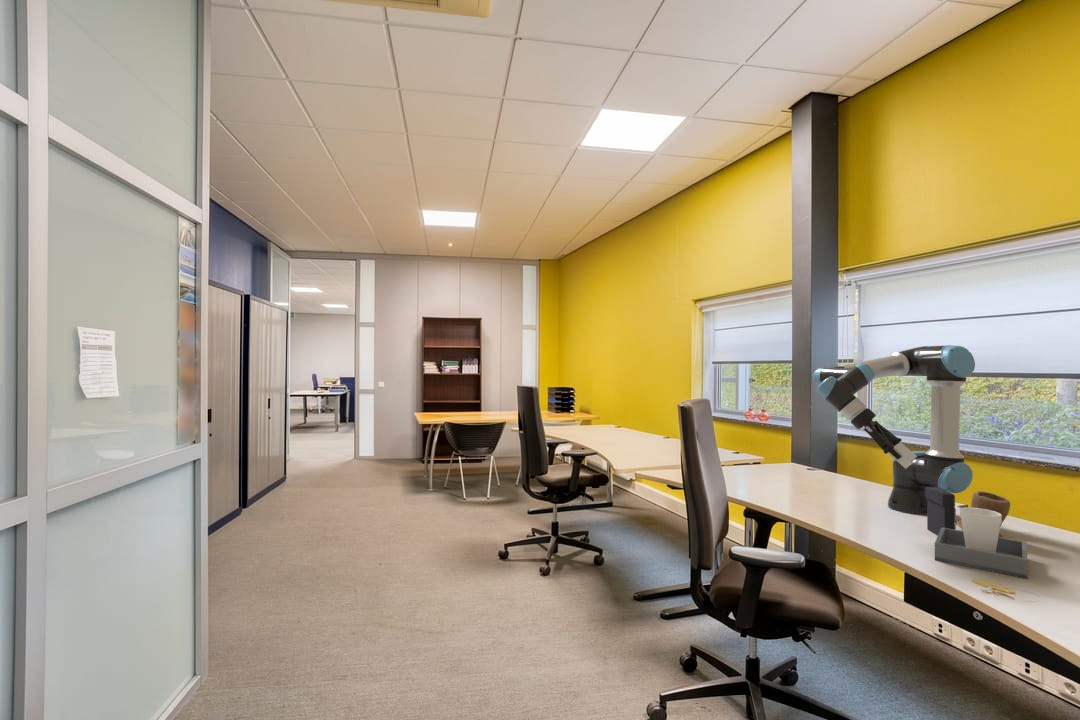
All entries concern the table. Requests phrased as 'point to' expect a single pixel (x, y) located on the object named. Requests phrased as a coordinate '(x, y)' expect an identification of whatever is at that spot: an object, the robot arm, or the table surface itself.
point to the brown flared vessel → (990, 504)
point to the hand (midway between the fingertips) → (911, 462)
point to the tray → (983, 554)
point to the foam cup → (980, 528)
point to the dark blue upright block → (940, 509)
